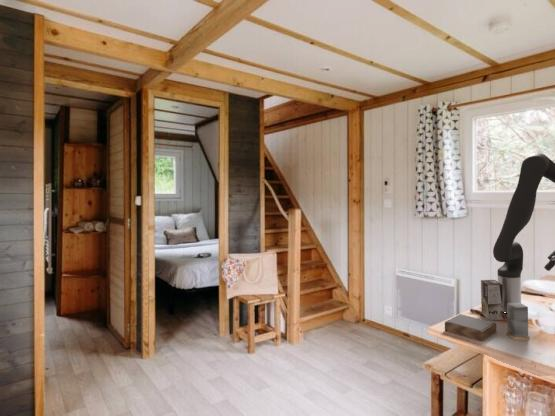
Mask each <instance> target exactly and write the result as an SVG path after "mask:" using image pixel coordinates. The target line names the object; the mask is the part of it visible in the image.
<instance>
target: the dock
mask: <svg viewBox="0 0 555 416" xmlns="http://www.w3.org/2000/svg"><path fill="white" fill-rule="evenodd" d="M445 330H447V331H446V332H448V331H450V332H449V333H452V332H453V333H452V334H455V333H456V334H455V335H458V334H460V335H459V336H462V335H463V336H462V337H465V336H466V338H469V339H472V340H476V341H479V342H483V341H485V340H486V339H487V338H489V337H491V336H492V335H494V334H495V333H497V323H496V322H494V321H490V320H486V319H481V318H478V317H475V316H473V317H472V316H469V315H466V314H461V313H460V314H458V315H456V316H453V317H452V318H449V319H448V320H446V321H444V331H445Z"/></svg>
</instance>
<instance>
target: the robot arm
mask: <svg viewBox="0 0 555 416" xmlns="http://www.w3.org/2000/svg"><path fill="white" fill-rule="evenodd" d="M543 178H546V179H547V180H548V181H549V180H550V181H551V182H552V183H553V184H555V162H554V161H553V160H552V159H550V158H549V157H548V156H547V155H545V154H544V153H541V152H535V153H534V152H533V153H531V154H529V155H528V156H526V157H525V158H524V159H523V161H522V162H521V165H520V172H519V176H518V181H517V186H516V189H515V191H514V192H513V195H512V197H511V199H510V201H509V202H510V203H509V205H508V208H507V211H506V214H505V218H504V222H503V225H502V227H501V230H500V232H499V235H498V237H497V239H496V241H495V244H494V246H493V249H492V254H493V255H492V256H493V257H494V259H495V260H496V261H497V262H499V263H503V265H501V266H500V267H499V268H498V269H497V282H499V283H500V284H502V285H503V312H506V313H507V303H521V304H522V281H521V280H522V279H521V278H522V277H521V276H522V272H523V268H524V250H523V247H522V245H521V244H520V243H519V242H517V241H516V240H515V239H516V237H517V236H518V234H519V233H520V232H521V231H522V230H523V229H524V228H525V227H527V225H528V223H529V222H530V220H531V218H532V216H533V212H534V210H535V206H536V200H537V192H538V188H539V186H540V184H541V182H542V179H543ZM547 259H548V260H549V261H548V262H547V263H546V264H545V265H544V266H543V268H544V269H545V270H546V271H548V272H550V271H551V270H552V269H553V268H554V267H555V250H553V252H551V253H550V254H549V255H548V256H547Z"/></svg>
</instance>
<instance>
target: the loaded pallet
mask: <svg viewBox="0 0 555 416" xmlns="http://www.w3.org/2000/svg"><path fill="white" fill-rule="evenodd" d="M506 315H507V317H506V319H507V320H506V321H507V324H506V325H507V331H506V336H508V337H509V338H511V339H512V340H514V341H529V340H530V336H529V307H528V306H527V305H525V304H524V303H522V302H521V303H507V314H506Z"/></svg>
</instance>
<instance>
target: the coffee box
mask: <svg viewBox="0 0 555 416" xmlns="http://www.w3.org/2000/svg"><path fill="white" fill-rule="evenodd" d="M480 298H481V299H480V300H481V302H480V303H481V314H482V315H483V317H485V318H486V319H487V321H490V320H491V321H492V320H493V321H503V320H504V313H503V285H502V284H500V283H499V282H498V280H496V279H481V280H480Z"/></svg>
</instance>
